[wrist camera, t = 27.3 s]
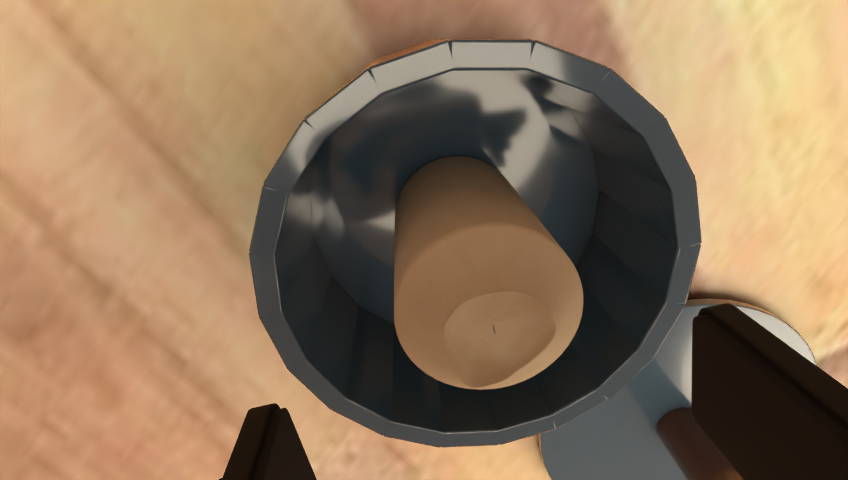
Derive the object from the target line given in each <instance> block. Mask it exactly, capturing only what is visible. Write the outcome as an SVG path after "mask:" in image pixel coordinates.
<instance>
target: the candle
mask: <svg viewBox="0 0 848 480" xmlns="http://www.w3.org/2000/svg"><path fill="white" fill-rule="evenodd" d="M582 311H583V290H582V284H581V280H580V277H579V274H578V272H577V270H576V268H575V266H574V264H573V263H572V261H571V260H570V259H569V257H568V256H567V254H566V253H565V252H564V251H563V249H562V248H561V247H560V246H559V244H558V243H557V242H556V240H555V239H554V238H553V237H552V235H551V234H550V233H549V232H548V230H547V229H546V228H545V227H544V225H543V224H542V223H541V222H540V220H539V219H538V218H537V217H536V215H535V214H534V213H533V212H532V210H531V209H530V208H529V207H528V205H527V204H526V203H525V202H524V200H523V199H522V198H521V196H520V195H519V194H518V193H517V191H516V190H515V189H514V188H513V186H512V185H511V184H510V183H509V181H508V180H507V179H506V178H505V177H504V176H503V175H502V174H501V173H500V172H499V171H498V170H497V169H495V168H494V167H493V166H491V165H489V164H488V163H486V162H483V161H481V160H478V159H475V158H471V157H465V156H450V157H444V158H441V159H437V160H435V161H432V162H430V163H428V164H426V165H425V166H423V167H422V168H420V169H419V170H418V171H416V172H415V173H414V174H413V175H412V176H411V177H410V179H409V180H408V181H407V183H406V184H405V186H404V187H403V189H402V191H401V193H400V195H399V198H398V201H397V205H396V211H395V240H394V323H395V328H396V333H397V336H398V339H399V341H400V344H401V346H402V347H403V349H404V351H405V353H406V354H407V355H408V357H409V358H410V359H411V361H412V362H413V363H414V364H415V365H416V366H417V367H418V368H420V369H421V370H422V371H424V372H425V373H426V374H428V375H429V376H431V377H433V378H434V379H436V380H439V381H441V382H443V383H446V384H449V385H452V386H455V387H460V388H466V389H478V390H482V389H496V388H503V387H507V386H511V385H514V384H517V383H520V382H522V381H525V380H527V379H529V378H531V377H533V376H535V375H536V374H538V373H540V372H541V371H543V370H544V369H546V368H547V367H548V366H549V365H551V364H552V363H553V362H554V361H555V360H556V359H557V358H558V357H559V356H560V355H561V354H562V353H563V352H564V351H565V349H566V348H567V347H568V345H569V344H570V342H571V341H572V339H573V337H574V336H575V333H576V331H577V329H578V327H579V323H580V320H581V317H582Z"/></svg>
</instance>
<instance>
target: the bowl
mask: <svg viewBox="0 0 848 480" xmlns="http://www.w3.org/2000/svg"><path fill="white" fill-rule="evenodd" d="M450 156H465V157H471V158H475V159H478V160H481V161H483V162H486V163H488V164H489V165H491V166H493V167H494V168H495V169H497V170H498V171H499V172H500V173H501V174H502V175H503V176H504V177H505V178H506V179H507V180H508V181H509V183H510V184H511V185H512V186H513V188H514V189H515V190H516V191H517V193H518V194H519V195H520V196H521V198H522V199H523V200H524V202H525V203H526V204H527V205H528V207H529V208H530V209H531V210H532V212H533V213H534V214H535V215H536V217H537V218H538V219H539V220H540V222H541V223H542V224H543V225H544V227H545V228H546V229H547V230H548V232H549V233H550V234H551V235H552V237H553V238H554V239H555V240H556V242H557V243H558V244H559V246H560V247H561V248H562V249H563V251H564V252H565V253H566V254H567V256H568V257H569V259H570V260H571V261H572V263H573V264H574V266H575V268H576V270H577V272H578V274H579V277H580V280H581V284H582V290H583V311H582V317H581V320H580V323H579V327H578V329H577V331H576V333H575V336H574V337H573V339H572V341H571V342H570V344H569V345H568V347H567V348H566V349H565V351H564V352H563V353H562V354H561V355H560V356H559V357H558V358H557V359H556V360H555V361H554V362H553V363H552V364H551V365H549V366H548V367H547V368H546V369H544V370H543V371H541V372H540V373H538V374H536V375H535V376H533V377H531V378H529V379H527V380H525V381H522V382H520V383H517V384H514V385H511V386H507V387H503V388H496V389H482V390H478V389H466V388H460V387H455V386H452V385H449V384H446V383H443V382H441V381H439V380H436V379H434V378H433V377H431V376H429V375H428V374H426V373H425V372H424V371H422V370H421V369H420V368H418V367H417V366H416V365H415V364H414V363H413V362H412V361H411V359H410V358H409V357H408V355H407V354H406V353H405V351H404V349H403V347H402V346H401V344H400V341H399V339H398V336H397V333H396V328H395V323H394V240H395V211H396V205H397V201H398V198H399V195H400V193H401V191H402V189H403V187H404V186H405V184H406V183H407V181H408V180H409V179H410V177H411V176H412V175H413V174H414V173H415V172H416V171H418V170H419V169H420V168H422V167H423V166H425V165H426V164H428V163H430V162H432V161H435V160H437V159H441V158H444V157H450ZM701 242H702V241H701V230H700V219H699V208H698V197H697V186H696V180H695V176H694V174H693V172H692V170H691V168H690V166H689V164H688V162H687V160H686V158H685V156H684V154H683V152H682V150H681V148H680V146H679V144H678V142H677V140H676V138H675V136H674V134H673V132H672V130H671V128H670V125H669V123H668V121H667V119H666V118H664V115H663V114H662V113H660V112H659V111H658V110H657V109H656V108H655V107H654V106H653V105H651V104H650V103H649V102H648V101H647V100H646V99H645V98H644V97H643V96H641V95H640V94H639V93H638V92H637V91H636V90H635V89H634V88H632V87H631V86H630V85H629V84H628V83H627V82H626V81H625V80H624V79H622V78H621V77H620V76H619V75H618V74H617V73H616V72H615V71H613V70H612V69H611V68H608V67H607V66H605V65H602V64H600V63H597V62H594V61H591V60H589V59H586V58H583V57H581V56H578V55H575V54H573V53H570V52H567V51H565V50H562V49H559V48H557V47H554V46H551V45H549V44H546V43H543V42H540V41H538V40H531V39H435V40H429V41H426V42H423V43H421V44H418V45H415V46H412V47H409V48H406V49H403V50H400V51H398V52H395V53H392V54H389V55H386V56H383V57H381V58H378V59H377V60H375V61H373V62H372V63H371V64H370V65H368V66H367V67H366V68H365V69H363V70H362V71H361V72H360V73H358V74H357V75H356V76H355V77H353V78H352V79H351V80H350V81H348V82H347V83H346V84H345V85H343V86H342V87H341V88H339V89H338V90H337V91H336V92H334V93H333V94H332V95H331V96H330V97H328V98H327V99H326V100H325V101H324V102H323V103H321V104H320V105H319V106H318V107H317V108H315V109H314V110H313V111H312V112H311V113H310V114H308V115H307V116H306V117H305V119H303V120H302V122H301V123H300V125H299V126H298V128H297V130H296V131H295V133H294V134H293V136H292V138H291V139H290V141H289V142H288V144H287V146H286V147H285V149H284V150H283V152H282V154H281V155H280V157H279V159H278V160H277V162H276V163H275V165H274V167H273V168H272V170H271V171H270V173H269V175H268V176H267V178H266V179H265V181H264V185H263V186H262V190H261V195H260V200H259V205H258V210H257V215H256V220H255V224H254V229H253V234H252V239H251V244H250V249H249V251H250V253H249V257H250V264H251V270H252V277H253V283H254V289H255V296H256V302H257V309H258V315H259V318H260V320H261V322H262V323H263V325H264V327H265V329H266V331H267V333H268V334H269V336H270V338H271V340H272V342H273V343H274V345H275V347H276V349H277V351H278V353H279V354H280V356H281V358H282V360H283V362H284V364H285V365H286V367H287V369H288V370H289V371H290V372H291V373H292V374H293V375H294V376H295V377H296V378H297V379H298V380H299V381H300V382H302V383H303V384H304V385H305V386H306V387H307V388H308V389H309V390H310V391H311V392H312V393H313V394H314V395H315V396H317V397H318V398H319V399H320V400H321V401H322V402H323V403H324V404H325V405H326V406H327V407H328V408H329V409H332V410H333V411H334V412H336V413H338V414H340V415H342V416H344V417H346V418H348V419H350V420H352V421H354V422H356V423H358V424H360V425H362V426H365V427H367V428H369V429H371V430H373V431H375V432H377V433H379V434H381V435H384V436H385V437H390V438H395V439H400V440H405V441H410V442H415V443H420V444H425V445H429V446H434V447H463V446H487V445H499V444H500V445H502V444H505V443H509V442H512V441H516V440H519V439H523V438H526V437H530V436H534V435H537V434H541V433H544V432H548V431H551V430H555V429H556V427H557V428H559V427H561V426H563V425H564V424H566V423H568V422H570V421H572V420H573V419H575V418H577V417H579V416H580V415H582V414H584V413H586V412H588V411H589V410H591V409H593V408H595V407H597V406H598V405H600V404H602V403H604V402H606V401H607V400H608V399H611V398H612V397H613V396H614V395H615V394H616V393H617V392H619V391H620V390H621V389H622V388H623V387H624V386H625V385H626V384H627V383H628V382H629V381H630V380H631V379H632V378H633V377H634V376H636V375H637V374H638V373H639V372H640V371H641V370H642V369H643V368H644V367H645V366H646V365H647V364H648V363H649V362H650V361H652V360H653V357H654V356H655V355H656V353H657V352H658V350H659V349H660V347H661V345H662V344H663V342H664V340H665V339H666V337H667V335H668V334H669V332H670V331H671V329H672V327H673V326H674V324H675V322H676V321H677V319H678V317H679V316H680V314H681V312H682V311H683V309H684V308H685V304H686V303H687V299H688V295H689V291H690V287H691V283H692V279H693V275H694V271H695V267H696V263H697V259H698V255H699V251H700V247H701V245H700V244H701Z"/></svg>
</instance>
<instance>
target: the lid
mask: <svg viewBox="0 0 848 480" xmlns="http://www.w3.org/2000/svg"><path fill="white" fill-rule="evenodd" d="M724 303H730V304H732V305H734V306H736V307H737V308H738V309H740V310H741V311H742V312H744V313H745V314H746V315H748V316H749V317H751V318H752V319H753V320H755V321H756V322H757V323H759V324H760V325H761V326H763V327H764V328H766V329H767V330H768V331H770V332H771V333H772V334H774V335H775V336H776V337H778V338H779V339H781V340H782V341H783V342H785V343H786V344H787V345H789V346H790V347H791V348H793V349H794V350H796V351H797V352H798V353H800V354H801V355H802V356H804V357H805V358H806V359H808V360H809V361H811V362H812V363H813V364H815V365H816V361H815V358H814V355H813V354H812V352H811V350H810V348H809V346H808V344H807V343H806V342H805V340H804V339H803V338H802V337H801V335H800V334H799V333H798V332H797V331H796V330H794V329H793V328H792V327H791V326H790V325H788V324H787V323H786V322H785V321H783V320H782V319H780V318H779V317H777V316H776V315H774V314H772V313H770V312H768V311H767V310H765V309H762V308H759V307H757V306H754V305H751V304H748V303H743V302H739V301H734V300H725V299H713V298H712V299H692V300H687V303H686V304H685V308H684V309H683V311H682V312H681V314H680V316H679V317H678V319H677V321H676V322H675V324H674V326H673V327H672V329H671V331H670V332H669V334H668V335H667V337H666V339H665V340H664V342H663V344H662V345H661V347H660V349H659V350H658V352H657V353H656V355H655V356H654V357H653V360H652V361H650V362H649V363H648V364H647V365H646V366H645V367H644V368H643V369H642V370H641V371H640V372H639V373H638V374H637V375H636V376H634V377H633V378H632V379H631V380H630V381H629V382H628V383H627V384H626V385H625V386H624V387H623V388H622V389H621V390H620V391H619V392H617V393H616V394H615V395H614V396H613V397H612V398H611V399H608V400H607V401H606V402H604V403H602V404H600V405H598V406H597V407H595V408H593V409H591V410H589V411H588V412H586V413H584V414H582V415H580V416H579V417H577V418H575V419H573V420H572V421H570V422H568V423H566V424H564V425H563V426H561V427H559V428H557V427H556V429H555V430H551V431H548V432H544V433H541V434H538V441H539V448H540V452H541V456H542V459H543V462H544V465H545V467H546V469H547V472H548V474H549V476H550V477H551V479H552V480H743V478H742V477H741V476H740V475H739V474H738V472H737V471H736V470H735V469H734V468H733V466H732V465H731V464H730V463H729V462H728V460H727V459H726V458H725V457H724V456H723V454H722V453H721V452H720V451H719V450H718V448H717V447H716V446H715V445H714V444H713V442H712V441H711V440H710V439H709V438H708V436H707V435H706V434H705V433H704V432H703V430H702V429H701V428H700V427H699V425H698V424H697V423H696V421H695V419H694V416H693V414H692V409H691V393H692V322H693V319H694V317H696V316H698V313H699V311H700V309H702V308H706V307H710V306H715V305H719V304H724ZM816 366H817V365H816Z"/></svg>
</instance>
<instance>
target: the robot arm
mask: <svg viewBox="0 0 848 480" xmlns="http://www.w3.org/2000/svg"><path fill="white" fill-rule="evenodd" d="M691 409H692V414H693V416H694V419H695V421H696V423H697V424H698V425H699V427H700V428H701V429H702V430H703V432H704V433H705V434H706V435H707V436H708V438H709V439H710V440H711V441H712V442H713V444H714V445H715V446H716V447H717V448H718V450H719V451H720V452H721V453H722V454H723V456H724V457H725V458H726V459H727V460H728V462H729V463H730V464H731V465H732V466H733V468H734V469H735V470H736V471H737V472H738V474H739V475H740V476H741V477H742V478H743V480H848V389H847V388H846V387H845V386H843V385H842V384H841V383H839V382H838V381H836V380H835V379H834V378H832V377H831V376H830V375H828V374H827V373H826V372H824V371H823V370H821V369H820V368H819V367H817V366H816V365H815V364H813V363H812V362H811V361H809V360H808V359H806V358H805V357H804V356H802V355H801V354H800V353H798V352H797V351H796V350H794V349H793V348H791V347H790V346H789V345H787V344H786V343H785V342H783V341H782V340H781V339H779V338H778V337H776V336H775V335H774V334H772V333H771V332H770V331H768V330H767V329H766V328H764V327H763V326H761V325H760V324H759V323H757V322H756V321H755V320H753V319H752V318H751V317H749V316H748V315H746V314H745V313H744V312H742V311H741V310H740V309H738V308H737V307H736V306H734V305H732V304H730V303H724V304H719V305H715V306H710V307H706V308H702V309H700V311H699V313H698V316H696V317H694V319H693V322H692V393H691ZM219 480H317V479H316V477H315V475H314V472H313V470H312V467H311V465H310V463H309V460H308V458H307V455H306V453H305V450H304V448H303V446H302V443H301V441H300V438H299V436H298V434H297V431H296V429H295V426H294V424H293V421H292V419H291V417H290V414H289V412H288V410H287V409H286V408H282V409H280V407H279V406H278V405H277V404H275V403H274V404H269V405H265V406H260V407H256V408H251V409H250V410H249V411H248V413H247V415H246V418H245V420H244V423H243V425H242V428H241V431H240V433H239V436H238V439H237V441H236V444H235V446H234V449H233V452H232V454H231V457H230V460H229V462H228V465H227V467H226V470H225V473H224V475H223V478H220V479H219Z"/></svg>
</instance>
